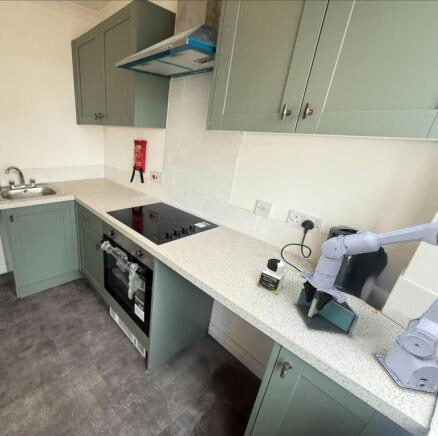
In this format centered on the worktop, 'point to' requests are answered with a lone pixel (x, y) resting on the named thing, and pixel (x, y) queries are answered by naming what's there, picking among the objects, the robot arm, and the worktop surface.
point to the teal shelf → (333, 314)
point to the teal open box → (320, 321)
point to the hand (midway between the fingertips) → (313, 305)
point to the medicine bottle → (273, 275)
